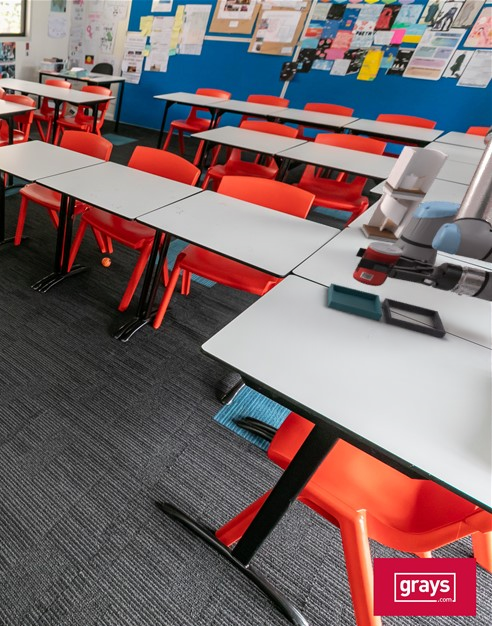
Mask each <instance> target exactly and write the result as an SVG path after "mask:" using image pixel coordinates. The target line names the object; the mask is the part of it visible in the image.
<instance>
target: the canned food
mask: <svg viewBox="0 0 492 626" xmlns="http://www.w3.org/2000/svg"><path fill="white" fill-rule="evenodd" d="M365 249H366V251H365V253H364V255H363V257H362V258H366V259H370V260H375V261H379V262H384V263H388V264H389V265H390V264H391V263H392V264H394V266H395V264H396V263H397V261H398V259H399V258H400V256H401V254H402V252H403V251H402V250H401V249H400V248H398V247H396V246H393V244H391V243H386V242H380V241H372V242H370V243H369V244H368V245H367V248H365ZM389 265H388V267H389ZM388 276H389V275H386V274H385V272H384V273H382V272H378V271H374V270H369V269H365V268H361V267H357V266H356V268H355V270H354V271H353V273H352V278H353V279H354V280H355V281H356V282H359V283H360V284H363V285H366V286H372V287H380V286H382V285H383V284H385V283H386V281H387V279H388V278H389V277H388Z"/></svg>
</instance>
